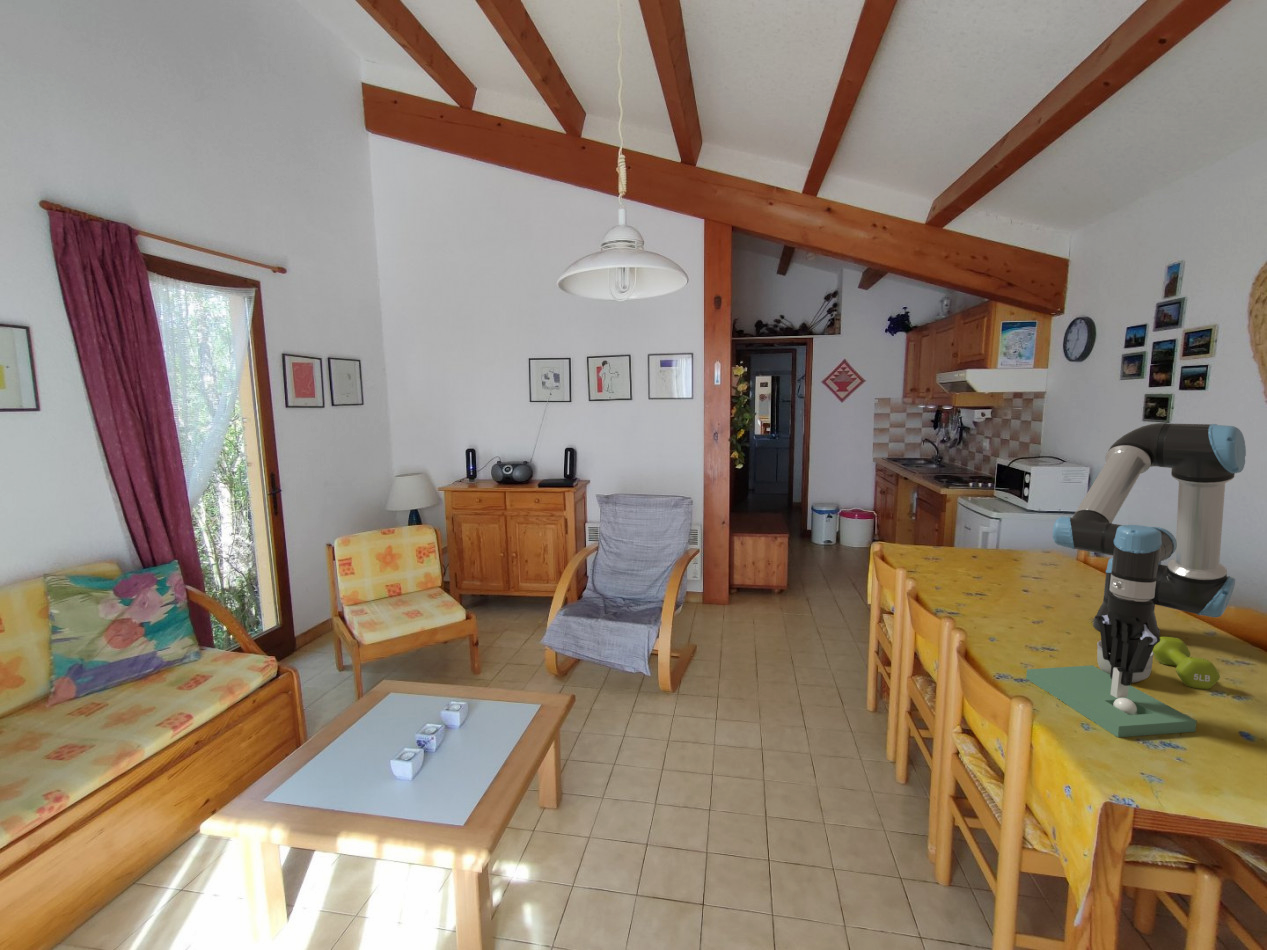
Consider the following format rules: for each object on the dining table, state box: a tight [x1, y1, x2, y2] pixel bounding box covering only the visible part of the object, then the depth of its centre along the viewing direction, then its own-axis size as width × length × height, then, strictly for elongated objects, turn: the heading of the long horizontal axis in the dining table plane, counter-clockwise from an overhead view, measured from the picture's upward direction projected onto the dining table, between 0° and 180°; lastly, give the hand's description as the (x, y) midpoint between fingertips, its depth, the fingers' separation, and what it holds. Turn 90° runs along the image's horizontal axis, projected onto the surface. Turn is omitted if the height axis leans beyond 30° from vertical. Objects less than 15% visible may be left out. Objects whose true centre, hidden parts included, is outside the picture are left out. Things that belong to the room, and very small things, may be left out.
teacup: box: [1096, 639, 1154, 683], centre depth 146 cm, size 14×11×8 cm
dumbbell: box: [1153, 636, 1221, 690], centre depth 146 cm, size 16×8×7 cm, turn 159°
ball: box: [1113, 698, 1137, 715], centre depth 128 cm, size 4×4×4 cm
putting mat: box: [1025, 665, 1198, 738], centre depth 133 cm, size 18×25×2 cm
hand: (1118, 695), depth 130 cm, fingers closed
